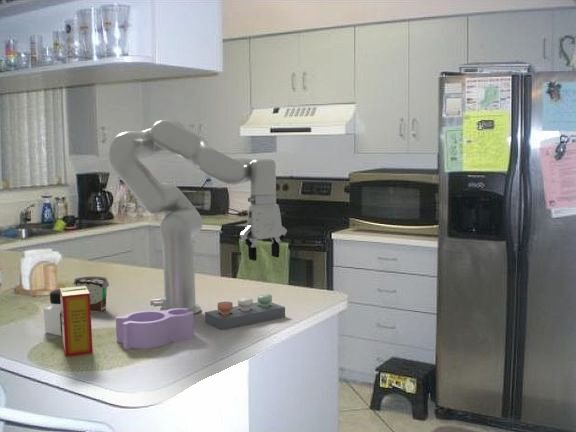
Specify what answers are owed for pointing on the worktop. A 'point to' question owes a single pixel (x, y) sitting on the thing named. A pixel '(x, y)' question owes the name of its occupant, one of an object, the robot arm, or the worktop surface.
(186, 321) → the clip
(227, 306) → the terracotta button
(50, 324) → the medicine bottle
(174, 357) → the worktop surface
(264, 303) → the sage button
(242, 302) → the ivory button
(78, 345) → the baking soda box
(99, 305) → the food container
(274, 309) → the button panel
